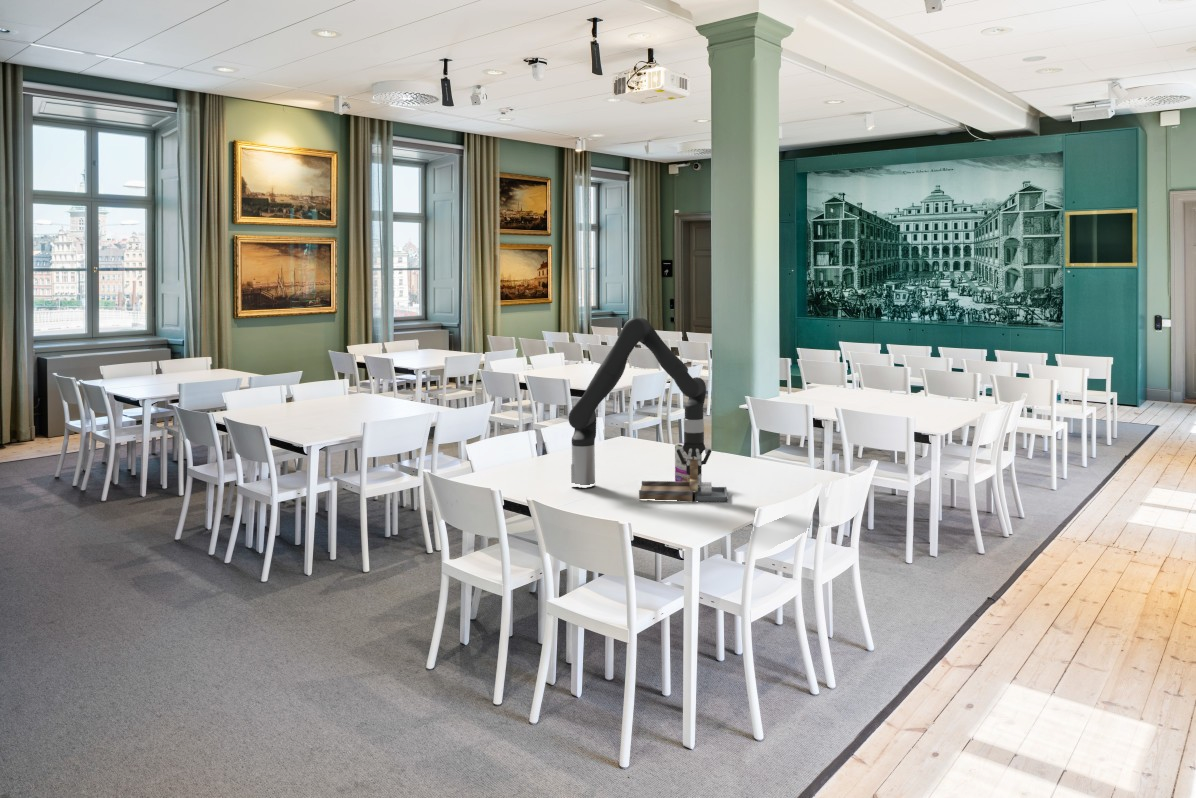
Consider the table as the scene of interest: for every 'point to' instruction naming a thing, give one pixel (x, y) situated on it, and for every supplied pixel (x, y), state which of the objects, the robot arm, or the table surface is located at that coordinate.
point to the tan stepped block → (694, 475)
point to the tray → (717, 495)
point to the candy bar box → (683, 466)
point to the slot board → (666, 490)
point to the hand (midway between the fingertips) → (693, 474)
